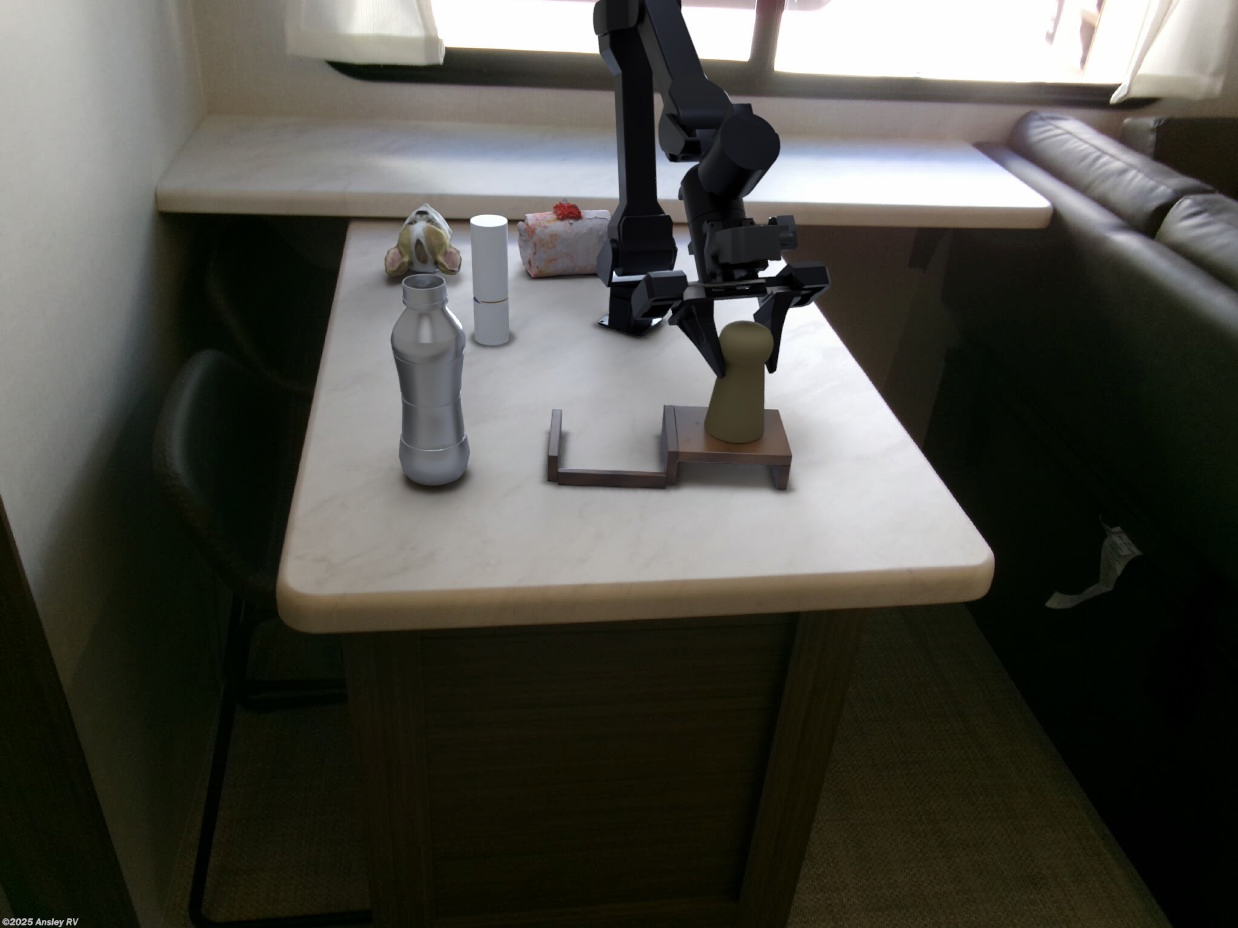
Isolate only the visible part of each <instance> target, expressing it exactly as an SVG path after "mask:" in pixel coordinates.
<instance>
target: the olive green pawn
mask: <svg viewBox="0 0 1238 928" xmlns="http://www.w3.org/2000/svg"><path fill="white" fill-rule="evenodd" d="M718 338H719V342H720V346H721V350H722V354H723V358H724V364H725V373H726V375H725V377H724V378H722V379H718V377H717V376H716V378H715V382H714V385H713V388H712V392H711V395H710V396H711V397H710V400H709V402H708V406H707V407H708V410H707V414H706V417H705V421H704V427H705V429H706V431H707V432H708V433H709V434H711V435H712V436H714V437H715V438H718V439H720V440H723V441H727V442H732V443H746V442H752V441H754V440H757V439H759V438H760V437H761V436H762V435H763V433H764V409H765V405H766V403H765V402H766V401H765V400H766V399H765V396H766V394H765V392H766V390H765V389H766V387H765V386H766V385H765V382H766V365H765V362H766V361H767V360H768V359H769V357H770V355H771V352H772V350H773V345H774V343H773V337H772V334H771V332H770V330H769V329H768V328H767V327H765V326H763V325H762V324H760V323H757V322H754V320H753V321H752V320H743V319H742V320H735V321H732V322H729V323H727V324H726V325H724V326H723V328H722V329H721V331H720V333H719V334H718Z"/></svg>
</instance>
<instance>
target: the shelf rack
mask: <svg viewBox="0 0 1238 928" xmlns="http://www.w3.org/2000/svg"><path fill="white" fill-rule="evenodd" d="M707 410H708V406H701V405H677V404H676V405H675V404H674V405H673V404H664V405H663V409H662V420H661V433H660V443H661V453H662V454H661V456H662V462H663V463H662V466H663V471H649V470H648V471H647V470H619V469H594V468H593V469H590V468H567V467H565V468H564V467H560V456H561V447H562V446H561V445H562V444H561V443H562V435H563V433H562V432H563V431H562V428H563V427H562V426H563V421H562V420H563V409H562V408H552V409H551V417H550V420H551V421H550V428H549V439H548V448H547V477H546V478H547V481H548V482H557V483H556V484H557V485H563V486H564V485H566V486H590V487H591V486H594V487H618V488H619V487H622V488H645V489H646V488H647V489H652V488H653V489H666V486H676V482H677V481H676V480H677V472H678V471H677V470H678V462H682V463H683V462H685V463H686V462H687V463H712V464H713V463H714V464H715V463H716V464H738V465H739V464H743V465H768V466H769V465H770V468H771V473H772V476H773V479H774V483H775V484H774V485H775V487H776V489H777V490H787V489H788V483H789V479H790V474H791V473H790V472H791V465H792V461H793V452H792V449H791V446H790V442H789V438H788V436H787V432H786V430H785V427H784V423H783V419H782V416H781V413H780V410H779V409H778V408H764V433H763V435H762V436H761V437H760V438H759V439H757V440H754V441H752V442H746V443H732V442H727V441H723V440H720V439H718V438H715V437H714V436H712V435H711V434H709V433H708V432H707V431H706V429H705V427H704V421H705V417H706V414H707Z"/></svg>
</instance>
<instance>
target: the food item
mask: <svg viewBox="0 0 1238 928" xmlns="http://www.w3.org/2000/svg"><path fill="white" fill-rule="evenodd" d="M552 210H553V211H547V212H535V213H526V214H525V217H524V221H518V223H517V224H516V225H517V227H516V228H517V232H518V235H517V236H518V237H517V244H518V251H519V256H520V259H521V262H522V264H523V266H525V268H526V270H527V273H529V276H530V277H531V278H544V277H554V276H562V275H563V276H570V275H571V276H572V275H597V260H596V259H597V256H598V254H599V252H600V250H601V248H602V246H603V245H604V243H605V241H606V239H607V226H608V223H609V222H610V220H611V218H612V216H613V214H611V212H610V211H609V210H608V209H598V210H597V209H595V210H593V209H591V210H588V209H585V210H584V209H583V210H580V207H579V206H578V205H577V204H576V203H573V204H571V203H570V202H568V199H567V198H566V197H565V198H564V199H562V200H561V201H559V203H556V204H554V205H553V206H552Z"/></svg>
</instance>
